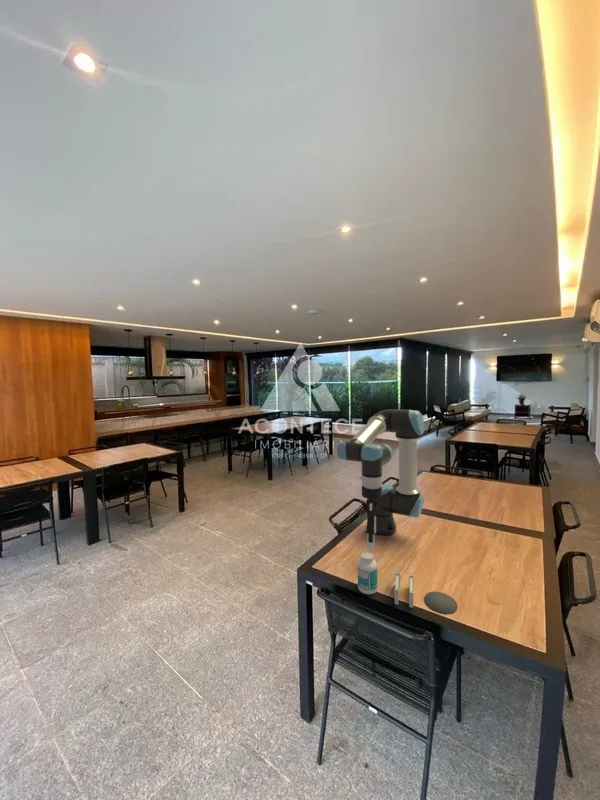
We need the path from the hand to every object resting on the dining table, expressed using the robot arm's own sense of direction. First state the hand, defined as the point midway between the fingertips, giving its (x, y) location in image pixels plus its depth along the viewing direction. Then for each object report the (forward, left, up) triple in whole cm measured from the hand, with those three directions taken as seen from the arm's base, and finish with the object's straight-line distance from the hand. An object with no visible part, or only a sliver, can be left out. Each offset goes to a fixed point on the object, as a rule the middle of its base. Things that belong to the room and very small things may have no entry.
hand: (371, 540), depth 125 cm
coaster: (0, +24, -20) cm, 31 cm away
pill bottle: (0, -2, -20) cm, 20 cm away
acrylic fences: (0, +12, -20) cm, 23 cm away
